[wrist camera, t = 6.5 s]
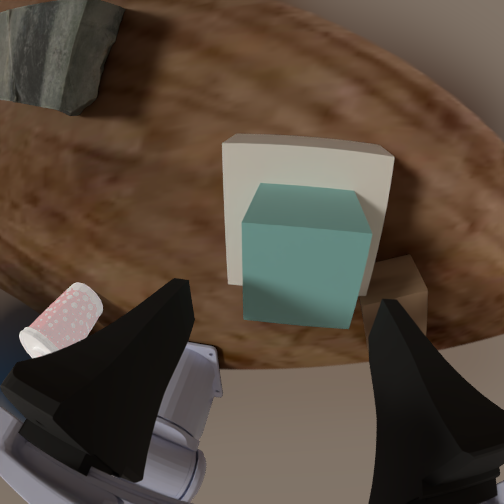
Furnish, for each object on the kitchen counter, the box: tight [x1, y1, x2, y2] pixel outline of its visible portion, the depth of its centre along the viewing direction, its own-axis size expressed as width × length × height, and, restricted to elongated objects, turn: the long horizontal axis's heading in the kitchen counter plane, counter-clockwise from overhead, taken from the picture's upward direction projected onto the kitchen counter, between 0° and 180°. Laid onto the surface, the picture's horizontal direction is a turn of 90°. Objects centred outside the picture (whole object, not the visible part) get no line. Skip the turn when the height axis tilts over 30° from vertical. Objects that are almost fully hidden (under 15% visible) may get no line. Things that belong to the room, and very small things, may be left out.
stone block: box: [0, 0, 126, 116], centre depth 14 cm, size 9×14×5 cm, turn 71°
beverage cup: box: [19, 283, 103, 358], centre depth 23 cm, size 6×6×14 cm
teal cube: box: [241, 183, 372, 329], centre depth 14 cm, size 5×5×5 cm
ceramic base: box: [222, 134, 395, 296], centre depth 18 cm, size 9×9×4 cm
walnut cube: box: [359, 254, 428, 351], centre depth 20 cm, size 4×4×4 cm
